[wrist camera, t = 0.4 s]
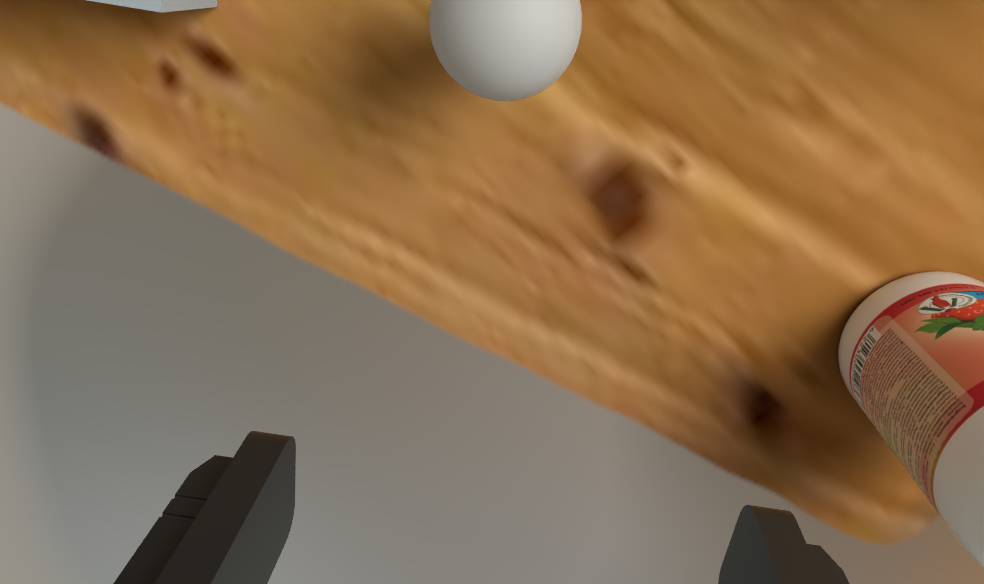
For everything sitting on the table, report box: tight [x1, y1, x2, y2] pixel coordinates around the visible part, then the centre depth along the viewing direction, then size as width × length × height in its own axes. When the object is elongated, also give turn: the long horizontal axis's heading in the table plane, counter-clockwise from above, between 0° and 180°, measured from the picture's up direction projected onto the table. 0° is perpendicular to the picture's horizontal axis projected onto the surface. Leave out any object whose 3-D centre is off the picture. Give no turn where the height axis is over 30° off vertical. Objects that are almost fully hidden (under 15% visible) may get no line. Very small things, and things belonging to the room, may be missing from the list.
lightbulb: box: [429, 0, 582, 101], centre depth 32 cm, size 6×6×11 cm
